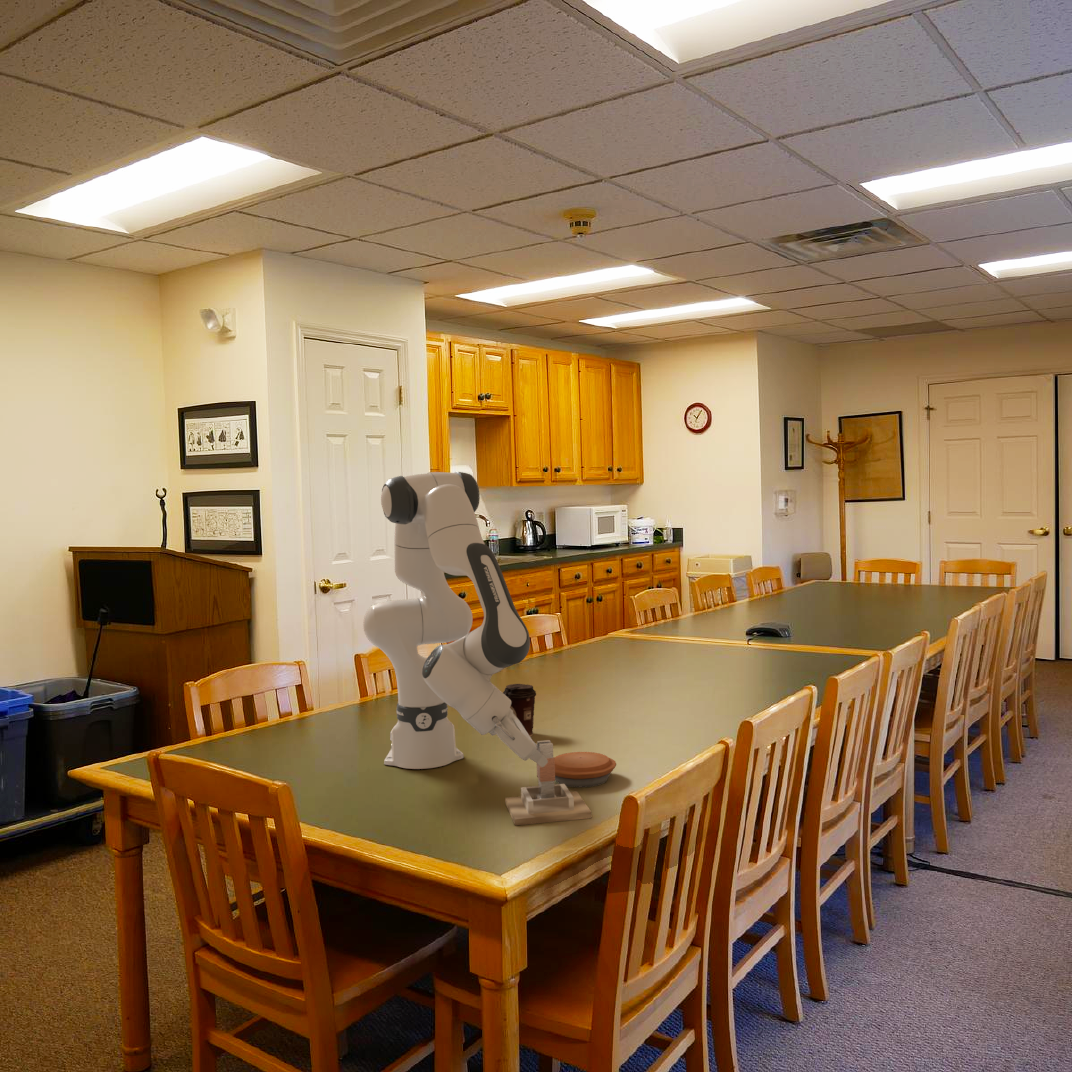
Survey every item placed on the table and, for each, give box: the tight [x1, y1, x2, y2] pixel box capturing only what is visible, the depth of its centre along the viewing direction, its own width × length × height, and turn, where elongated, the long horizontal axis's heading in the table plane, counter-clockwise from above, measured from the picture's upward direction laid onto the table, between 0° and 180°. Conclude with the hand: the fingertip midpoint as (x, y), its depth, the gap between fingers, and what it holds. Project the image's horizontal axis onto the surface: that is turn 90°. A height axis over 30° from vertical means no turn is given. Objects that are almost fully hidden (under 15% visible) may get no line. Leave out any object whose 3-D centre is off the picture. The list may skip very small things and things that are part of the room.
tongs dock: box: [504, 783, 592, 826], centre depth 189 cm, size 13×15×4 cm
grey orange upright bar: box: [535, 739, 556, 799], centre depth 189 cm, size 4×4×12 cm
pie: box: [553, 751, 617, 788], centre depth 209 cm, size 15×16×5 cm
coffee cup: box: [502, 683, 537, 738], centre depth 248 cm, size 9×8×13 cm
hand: (540, 757), depth 189 cm, fingers open, 8 cm apart
